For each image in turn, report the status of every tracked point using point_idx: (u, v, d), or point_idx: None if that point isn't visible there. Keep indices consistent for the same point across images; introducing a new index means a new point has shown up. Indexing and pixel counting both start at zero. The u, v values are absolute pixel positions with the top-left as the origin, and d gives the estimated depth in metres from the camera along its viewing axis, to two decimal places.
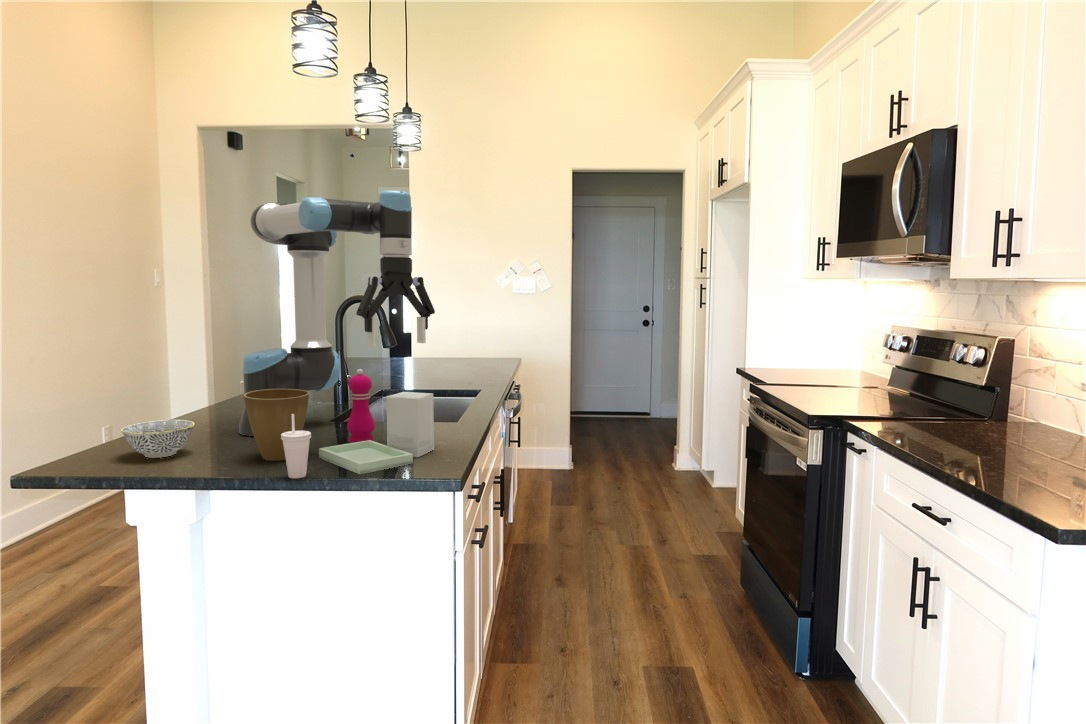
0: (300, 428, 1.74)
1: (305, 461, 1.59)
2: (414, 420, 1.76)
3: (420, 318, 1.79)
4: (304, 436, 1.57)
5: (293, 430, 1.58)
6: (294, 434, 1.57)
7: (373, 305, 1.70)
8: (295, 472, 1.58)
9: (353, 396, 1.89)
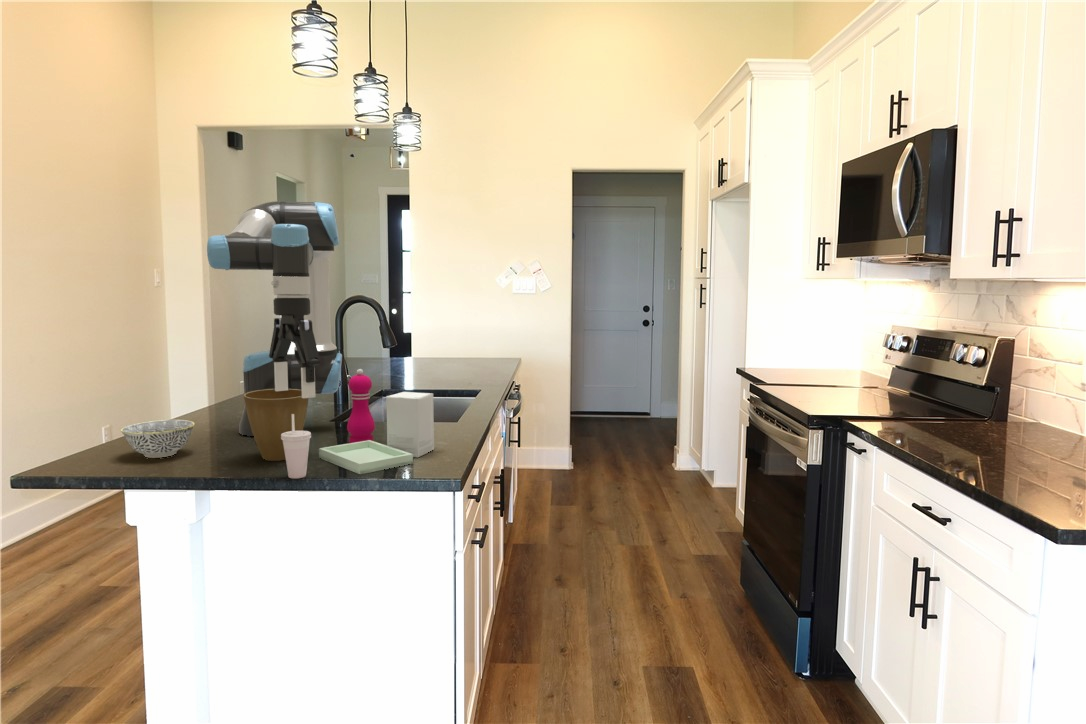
0: (300, 428, 1.74)
1: (305, 461, 1.59)
2: (414, 420, 1.76)
3: None
4: (304, 436, 1.57)
5: (293, 430, 1.58)
6: (294, 434, 1.57)
7: None
8: (295, 472, 1.58)
9: (353, 396, 1.89)
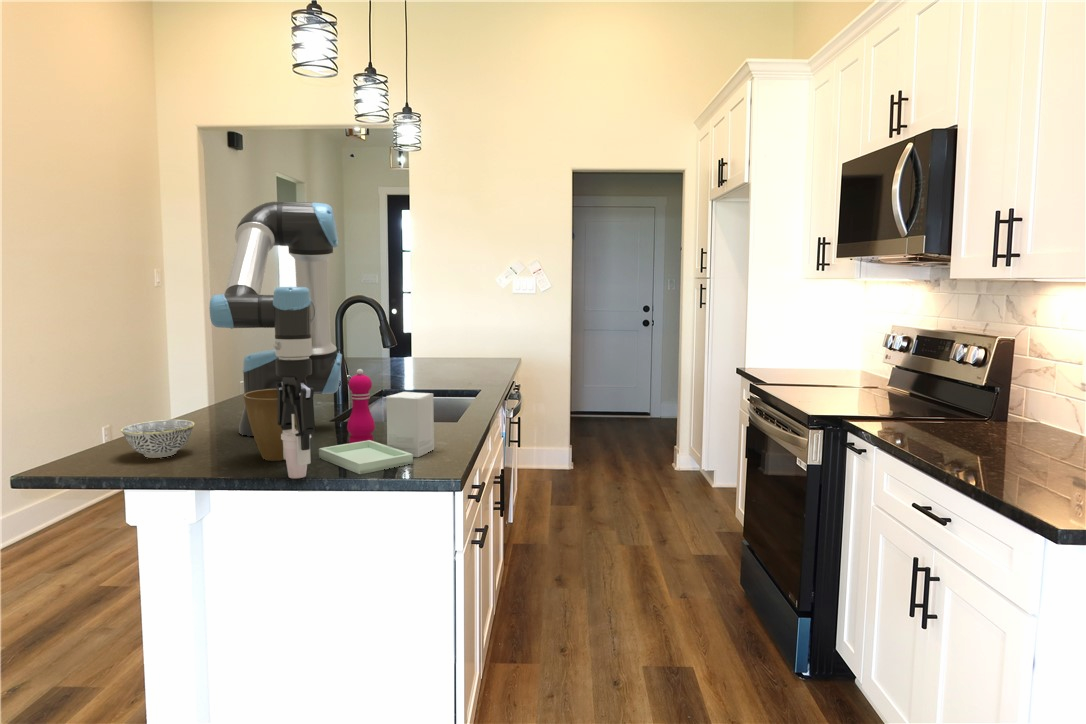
0: None
1: None
2: (414, 420, 1.76)
3: None
4: None
5: (293, 430, 1.58)
6: (294, 434, 1.57)
7: None
8: (295, 472, 1.58)
9: (353, 396, 1.89)
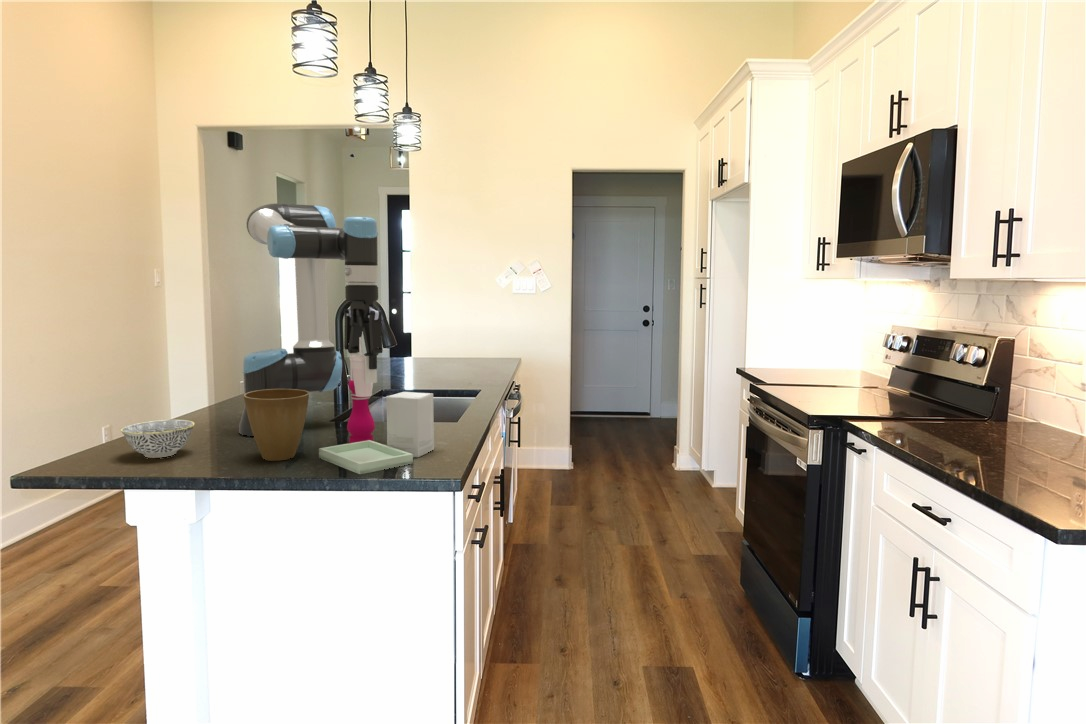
0: (300, 428, 1.74)
1: None
2: (414, 420, 1.76)
3: None
4: None
5: (360, 352, 1.70)
6: (362, 355, 1.69)
7: None
8: (362, 391, 1.69)
9: (353, 396, 1.89)
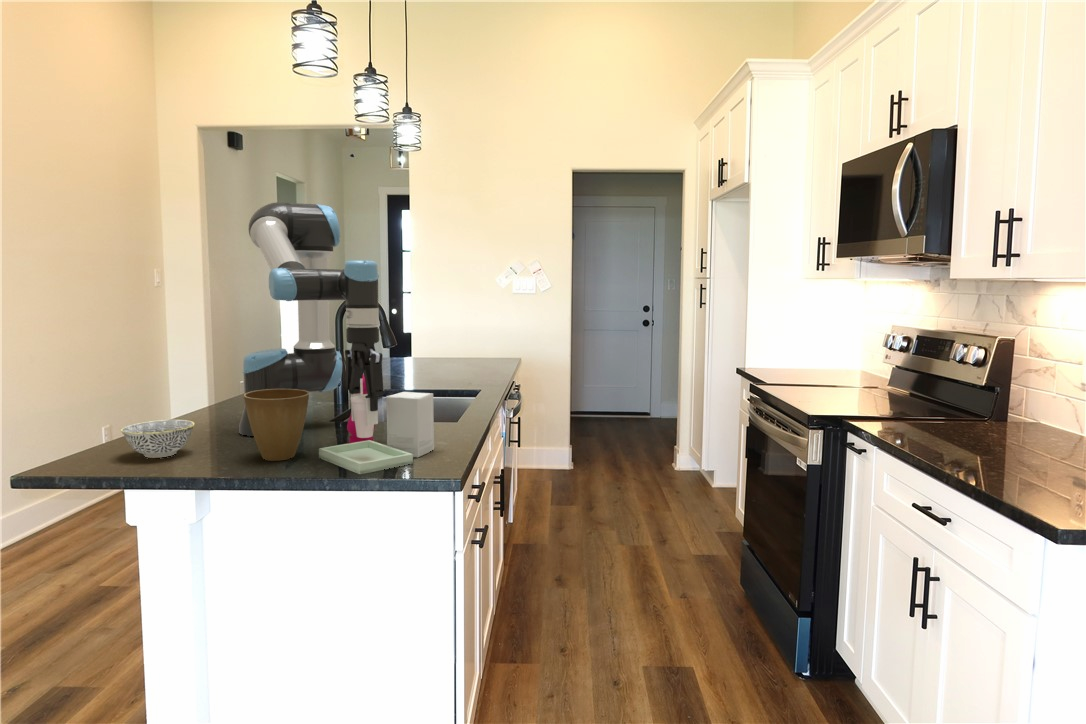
0: (300, 428, 1.74)
1: None
2: (414, 420, 1.76)
3: None
4: None
5: (361, 393, 1.71)
6: (363, 397, 1.70)
7: None
8: (363, 432, 1.70)
9: None
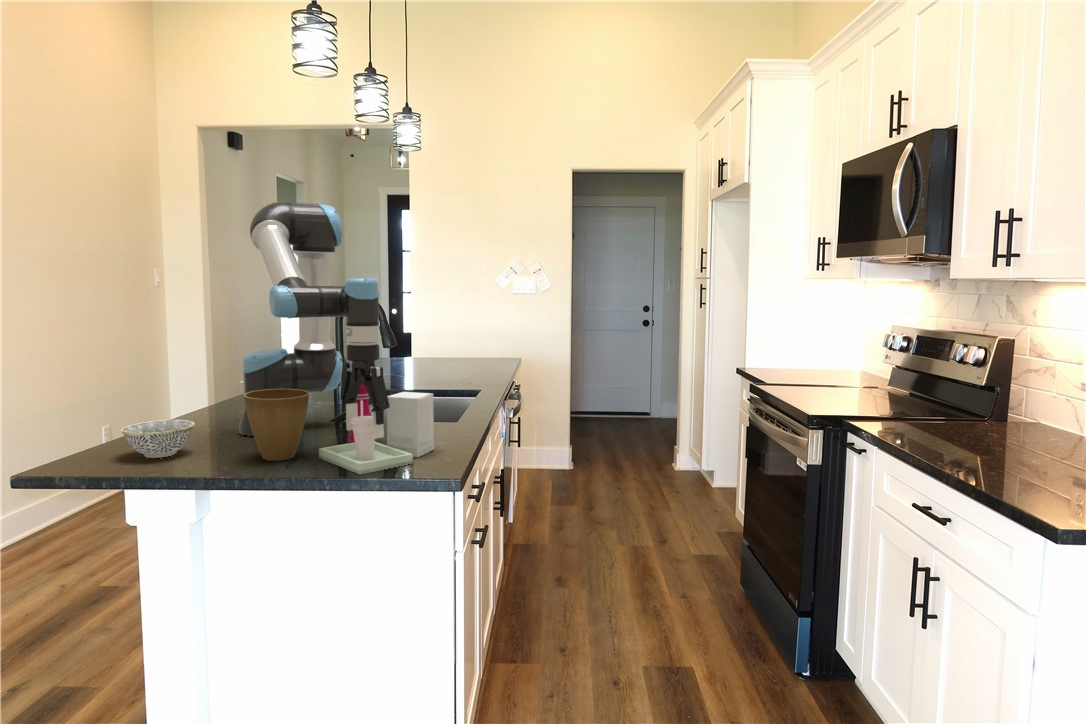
0: (300, 428, 1.74)
1: (373, 443, 1.72)
2: (414, 419, 1.76)
3: None
4: None
5: (362, 415, 1.72)
6: (363, 419, 1.71)
7: None
8: (363, 454, 1.71)
9: None
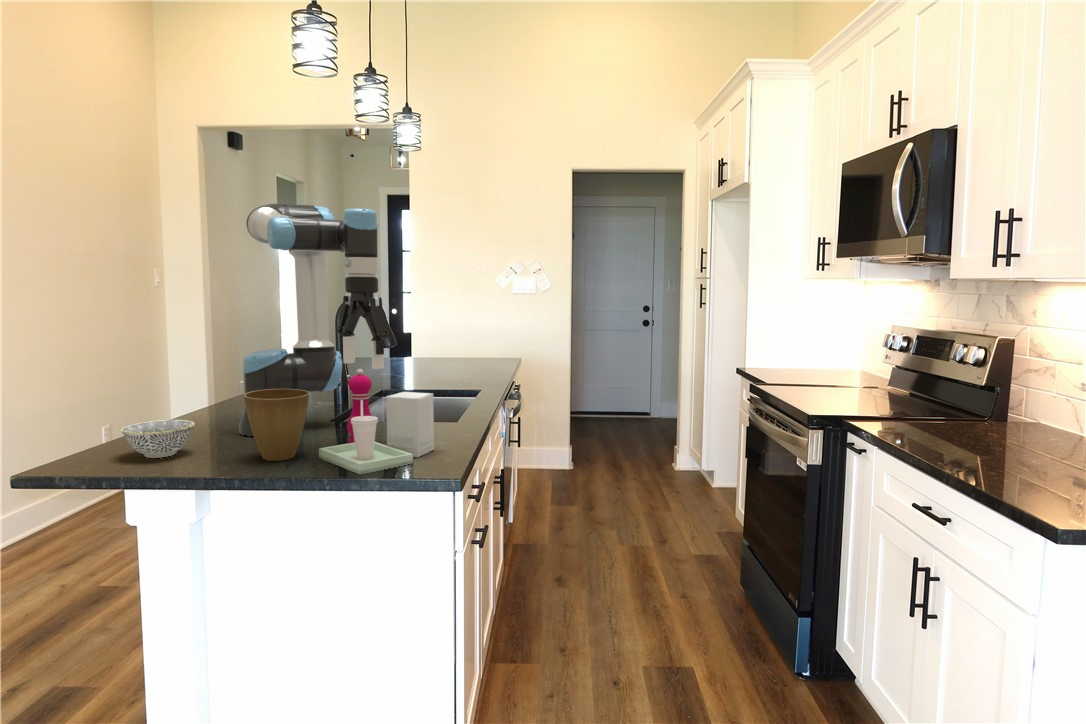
0: (300, 428, 1.74)
1: (373, 443, 1.72)
2: (414, 419, 1.76)
3: None
4: (372, 420, 1.70)
5: (362, 415, 1.72)
6: (363, 419, 1.71)
7: None
8: (363, 454, 1.71)
9: (353, 396, 1.89)
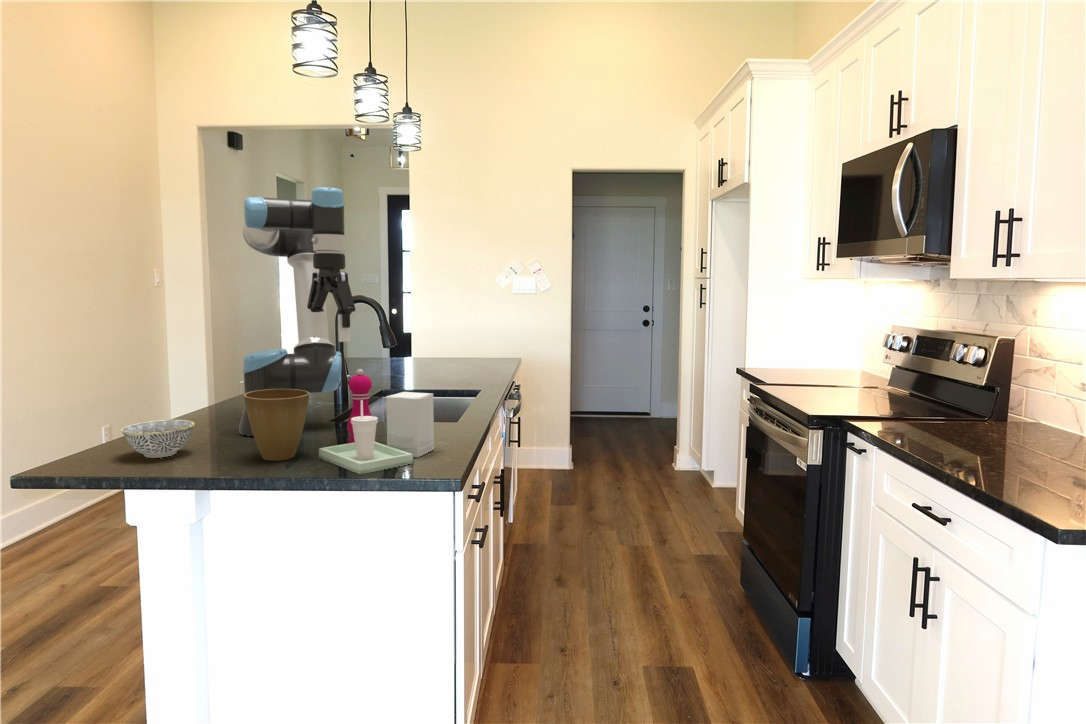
0: (300, 428, 1.74)
1: (373, 443, 1.72)
2: (414, 419, 1.76)
3: None
4: (372, 420, 1.70)
5: (362, 415, 1.72)
6: (363, 419, 1.71)
7: None
8: (363, 454, 1.71)
9: (353, 396, 1.89)
